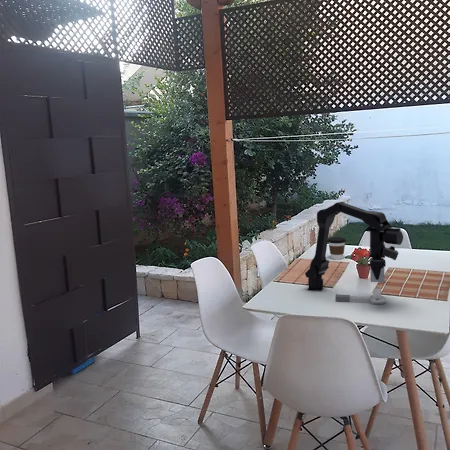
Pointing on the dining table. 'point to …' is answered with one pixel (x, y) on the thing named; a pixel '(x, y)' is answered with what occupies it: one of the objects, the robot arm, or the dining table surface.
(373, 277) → the gray block
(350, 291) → the dining table surface
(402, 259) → the dining table surface
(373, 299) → the gray handled tool
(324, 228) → the robot arm
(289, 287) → the dining table surface
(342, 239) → the coffee cup
